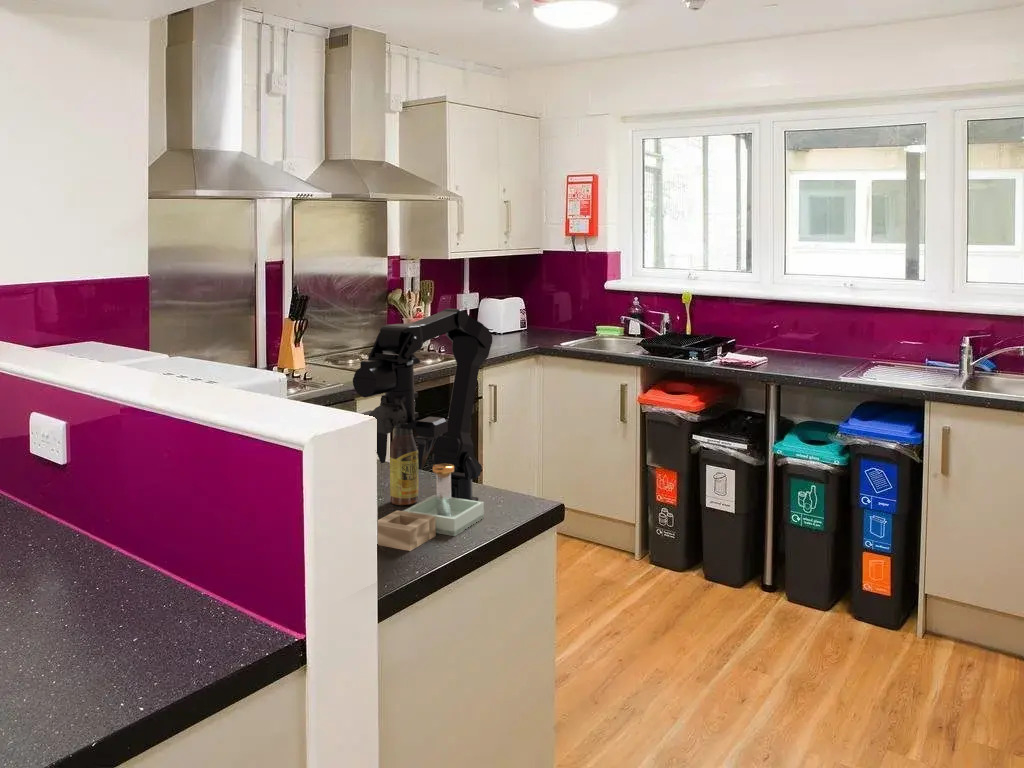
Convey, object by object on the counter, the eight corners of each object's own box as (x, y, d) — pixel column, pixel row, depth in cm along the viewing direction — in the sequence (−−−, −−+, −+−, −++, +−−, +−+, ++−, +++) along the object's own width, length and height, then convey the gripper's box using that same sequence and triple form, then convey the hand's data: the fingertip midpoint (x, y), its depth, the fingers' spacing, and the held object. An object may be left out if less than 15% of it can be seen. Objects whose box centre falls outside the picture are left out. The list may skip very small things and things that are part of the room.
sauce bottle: (404, 508, 192) (402, 418, 188) (384, 503, 196) (381, 415, 192) (425, 501, 197) (423, 413, 194) (405, 496, 201) (402, 410, 197)
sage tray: (434, 510, 191) (434, 494, 190) (484, 518, 185) (483, 502, 185) (403, 527, 180) (403, 510, 179) (454, 536, 175) (454, 519, 174)
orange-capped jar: (440, 513, 185) (439, 462, 183) (459, 516, 183) (458, 464, 181) (429, 519, 182) (428, 467, 180) (448, 522, 180) (447, 470, 178)
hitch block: (397, 529, 179) (396, 510, 178) (435, 536, 175) (435, 516, 174) (371, 543, 171) (370, 523, 170) (410, 551, 167) (409, 530, 166)
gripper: (335, 392, 172) (339, 470, 175) (417, 400, 164) (419, 481, 167) (369, 382, 182) (372, 456, 185) (448, 389, 173) (450, 467, 176)
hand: (402, 465), depth 178 cm, fingers open, 9 cm apart
